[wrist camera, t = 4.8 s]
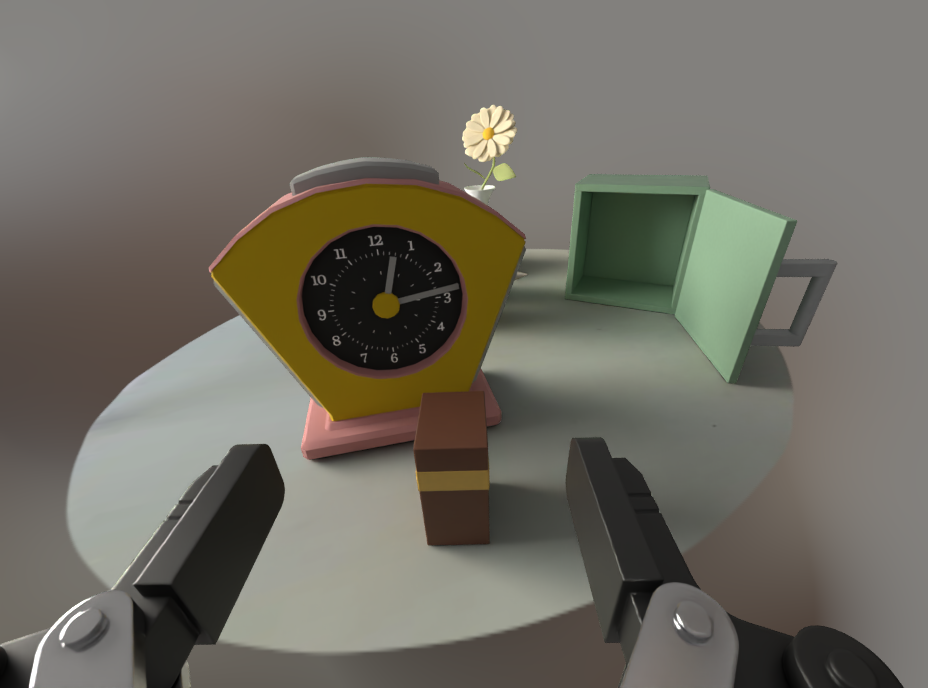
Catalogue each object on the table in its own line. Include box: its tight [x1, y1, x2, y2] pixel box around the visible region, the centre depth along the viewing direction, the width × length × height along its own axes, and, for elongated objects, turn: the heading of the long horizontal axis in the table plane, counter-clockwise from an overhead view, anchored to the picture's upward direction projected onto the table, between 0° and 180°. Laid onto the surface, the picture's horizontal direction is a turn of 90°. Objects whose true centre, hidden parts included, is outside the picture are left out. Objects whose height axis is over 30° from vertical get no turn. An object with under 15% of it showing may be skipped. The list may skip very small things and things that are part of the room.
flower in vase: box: [462, 105, 517, 205], centre depth 63 cm, size 13×11×25 cm
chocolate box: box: [413, 391, 490, 545], centre depth 25 cm, size 5×4×8 cm
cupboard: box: [565, 174, 710, 314], centre depth 54 cm, size 9×15×16 cm, turn 64°
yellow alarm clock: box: [209, 157, 526, 460], centre depth 31 cm, size 22×9×22 cm, turn 102°
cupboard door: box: [675, 189, 837, 383], centre depth 40 cm, size 6×15×16 cm, turn 174°
